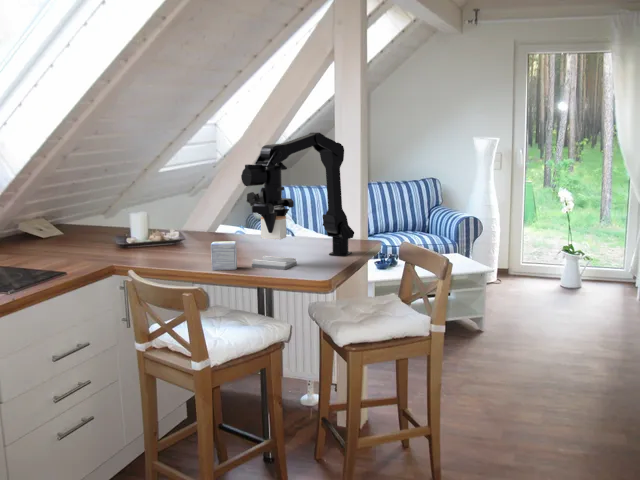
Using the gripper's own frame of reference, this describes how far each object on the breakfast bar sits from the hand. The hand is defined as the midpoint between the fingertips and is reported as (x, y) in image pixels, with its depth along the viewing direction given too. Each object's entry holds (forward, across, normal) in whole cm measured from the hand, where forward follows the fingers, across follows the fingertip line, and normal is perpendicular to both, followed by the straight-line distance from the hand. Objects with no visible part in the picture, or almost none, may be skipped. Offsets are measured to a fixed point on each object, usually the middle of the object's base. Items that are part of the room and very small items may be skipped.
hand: (273, 231), depth 223 cm
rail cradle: (+11, 0, 0) cm, 11 cm away
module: (+2, 0, 0) cm, 2 cm away
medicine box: (+12, +10, -13) cm, 20 cm away
